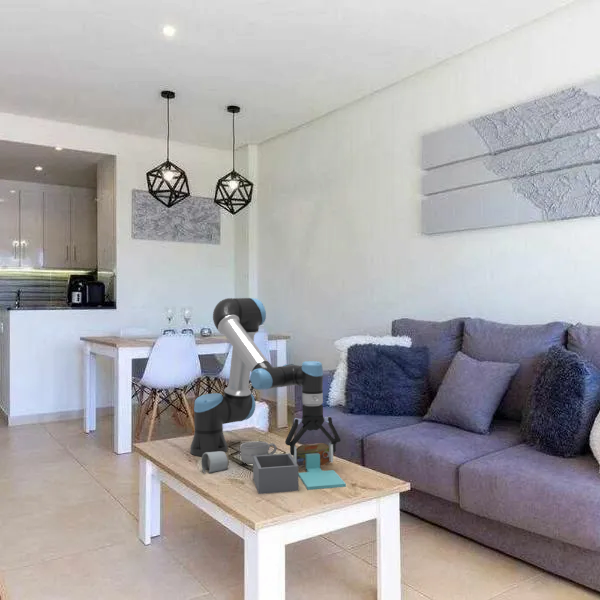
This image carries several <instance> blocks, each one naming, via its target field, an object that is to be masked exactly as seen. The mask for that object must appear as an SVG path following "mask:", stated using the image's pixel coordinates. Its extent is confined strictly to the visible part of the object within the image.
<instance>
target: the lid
mask: <svg viewBox="0 0 600 600" xmlns="http://www.w3.org/2000/svg"><path fill="white" fill-rule="evenodd" d="M304 466H305V472H298V479H300V481H301V482H302V484H303V485H304V486H305V488H306V490H307V491H309V490H310V491H311V490H322V489H323V490H324V489H335V488H345V487H347V483H346V482H345V480H343V479H342V478H341V477H340V475H339V474H338V473H337V472H336V471H335V470H333V469H331V470H323V469H322V468H321V466H320V454H319V453H312V454H305V465H304Z"/></svg>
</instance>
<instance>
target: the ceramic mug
mask: <svg viewBox="0 0 600 600" xmlns="http://www.w3.org/2000/svg"><path fill="white" fill-rule="evenodd" d="M200 461H201V462H200V463H201V469H202V472H203V473H204V474H206V470H208V469H209V470H208V474H211V473H216V472H219V471H226V470H227V469H228V468H229V464H230V461H229V456H228V454H227V452H226V453H225V452H223V451H217V452H206V453H204V454H203V456H201V460H200Z"/></svg>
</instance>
